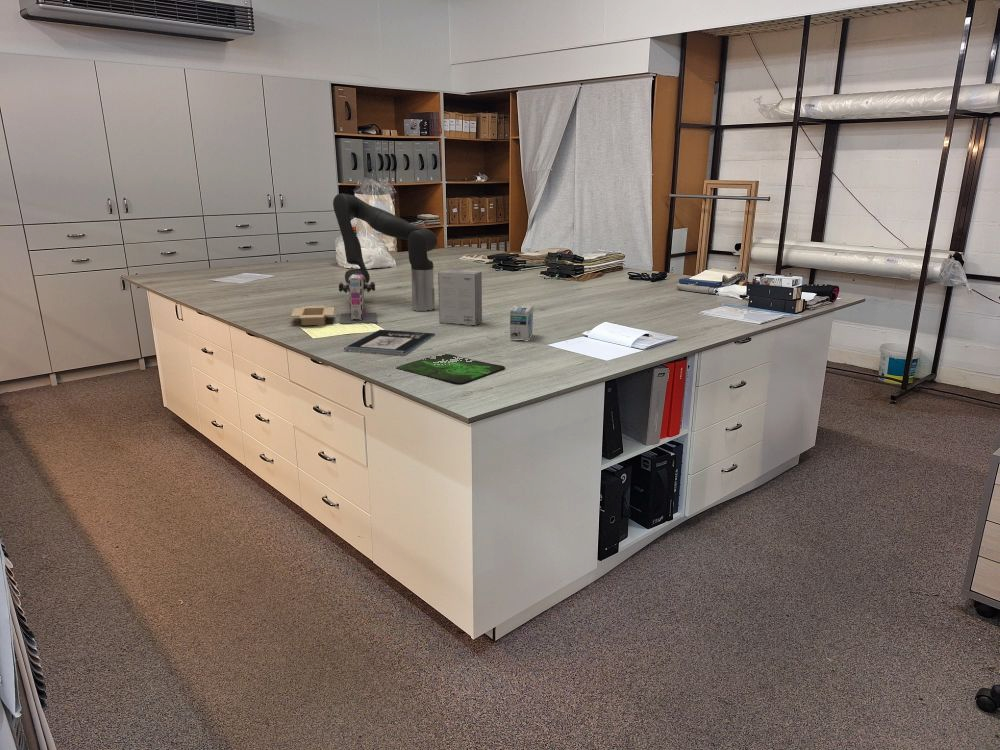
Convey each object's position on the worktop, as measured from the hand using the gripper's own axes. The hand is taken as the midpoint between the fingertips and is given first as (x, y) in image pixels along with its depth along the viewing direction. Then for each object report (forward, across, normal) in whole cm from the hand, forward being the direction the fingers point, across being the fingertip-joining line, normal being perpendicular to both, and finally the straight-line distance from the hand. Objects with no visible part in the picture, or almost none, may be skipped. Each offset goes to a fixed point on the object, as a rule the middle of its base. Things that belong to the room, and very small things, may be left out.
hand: (357, 289), depth 265 cm
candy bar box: (0, 0, +11) cm, 11 cm away
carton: (+3, -17, +12) cm, 21 cm away
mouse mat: (+75, +27, +12) cm, 80 cm away
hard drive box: (+14, +39, +12) cm, 43 cm away
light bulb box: (+41, +57, +12) cm, 71 cm away
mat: (+1, 0, +12) cm, 12 cm away
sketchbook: (+41, +11, +12) cm, 44 cm away
